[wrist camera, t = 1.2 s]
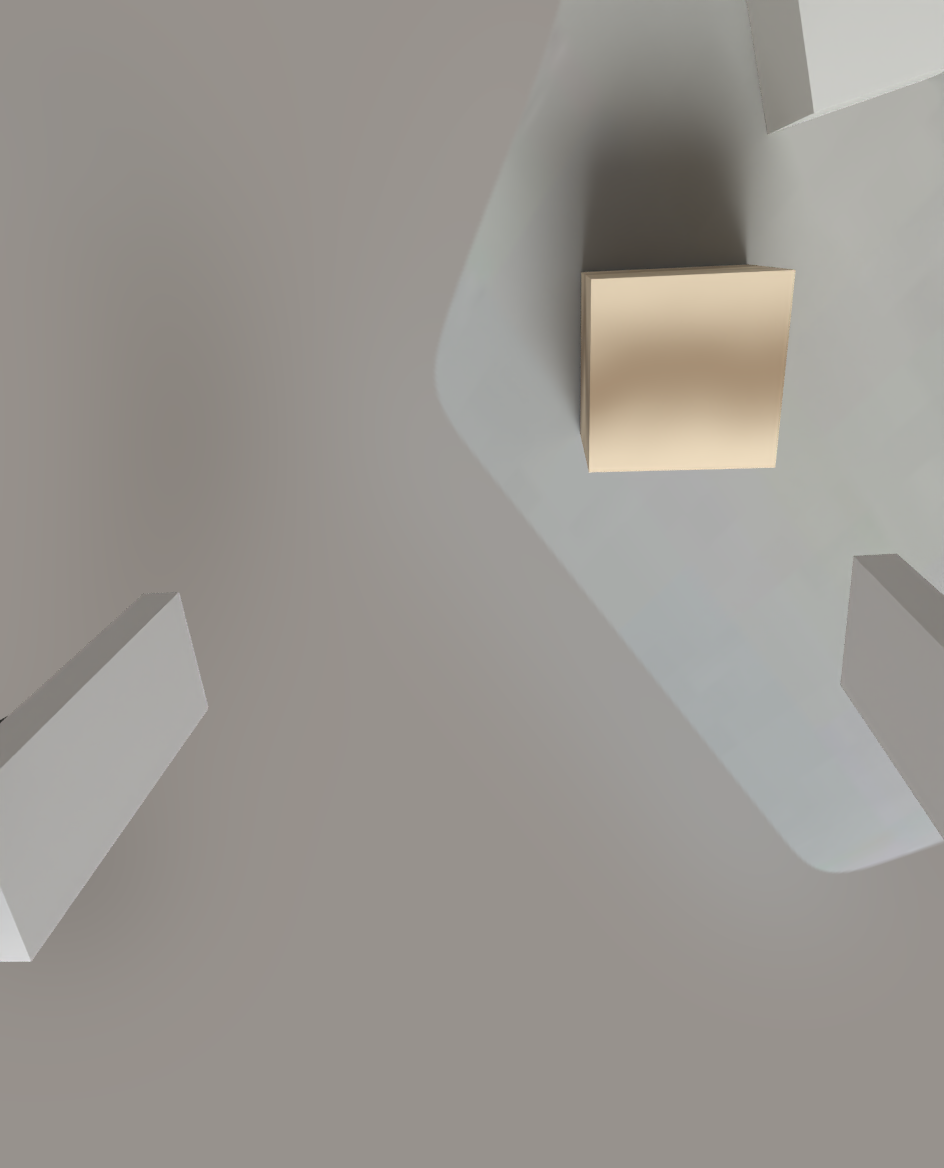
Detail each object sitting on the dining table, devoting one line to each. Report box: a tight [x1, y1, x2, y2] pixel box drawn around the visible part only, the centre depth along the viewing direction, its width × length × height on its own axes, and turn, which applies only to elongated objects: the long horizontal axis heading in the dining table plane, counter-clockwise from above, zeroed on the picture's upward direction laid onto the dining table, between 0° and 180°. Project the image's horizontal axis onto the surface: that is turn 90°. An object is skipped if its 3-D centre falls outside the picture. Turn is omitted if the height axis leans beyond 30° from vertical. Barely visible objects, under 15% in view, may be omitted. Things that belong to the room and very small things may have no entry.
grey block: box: [746, 0, 944, 134], centre depth 28 cm, size 6×6×6 cm
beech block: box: [580, 264, 795, 472], centre depth 33 cm, size 7×7×7 cm
